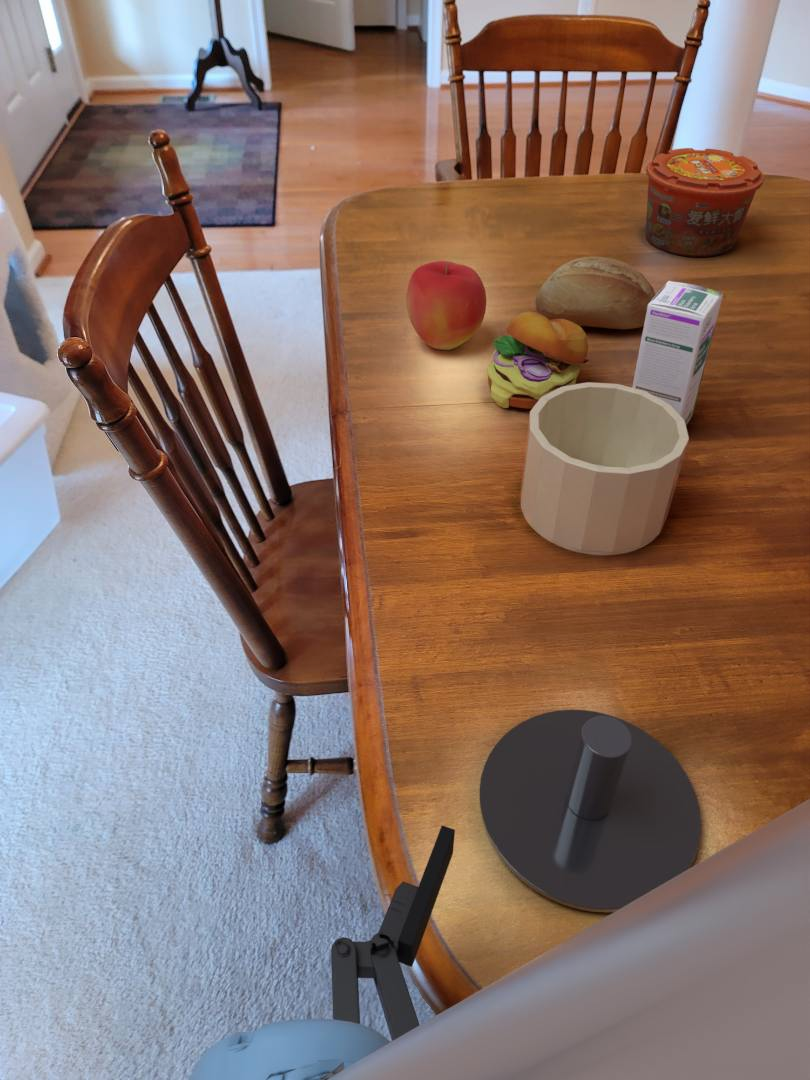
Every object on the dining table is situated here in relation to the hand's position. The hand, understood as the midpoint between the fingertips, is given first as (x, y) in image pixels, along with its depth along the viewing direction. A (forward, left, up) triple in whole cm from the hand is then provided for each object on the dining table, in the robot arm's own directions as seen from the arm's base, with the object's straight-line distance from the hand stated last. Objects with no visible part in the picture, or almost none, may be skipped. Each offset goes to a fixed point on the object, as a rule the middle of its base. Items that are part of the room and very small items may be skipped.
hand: (568, 882), depth 44 cm
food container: (+58, -89, -8) cm, 107 cm away
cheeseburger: (+44, -42, -8) cm, 61 cm away
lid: (+5, -8, -8) cm, 12 cm away
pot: (+26, -32, -8) cm, 42 cm away
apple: (+58, -41, -8) cm, 72 cm away
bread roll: (+50, -59, -8) cm, 78 cm away
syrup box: (+31, -48, -8) cm, 58 cm away
